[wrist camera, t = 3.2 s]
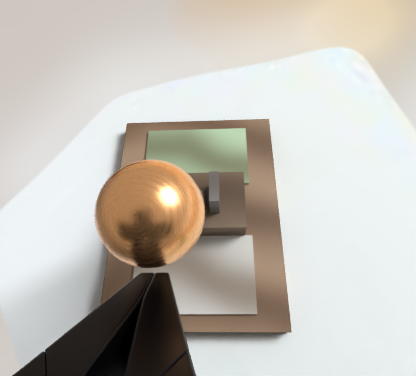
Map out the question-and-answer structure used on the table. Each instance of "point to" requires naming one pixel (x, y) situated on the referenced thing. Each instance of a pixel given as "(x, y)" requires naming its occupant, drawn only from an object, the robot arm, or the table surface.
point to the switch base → (255, 226)
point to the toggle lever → (150, 213)
